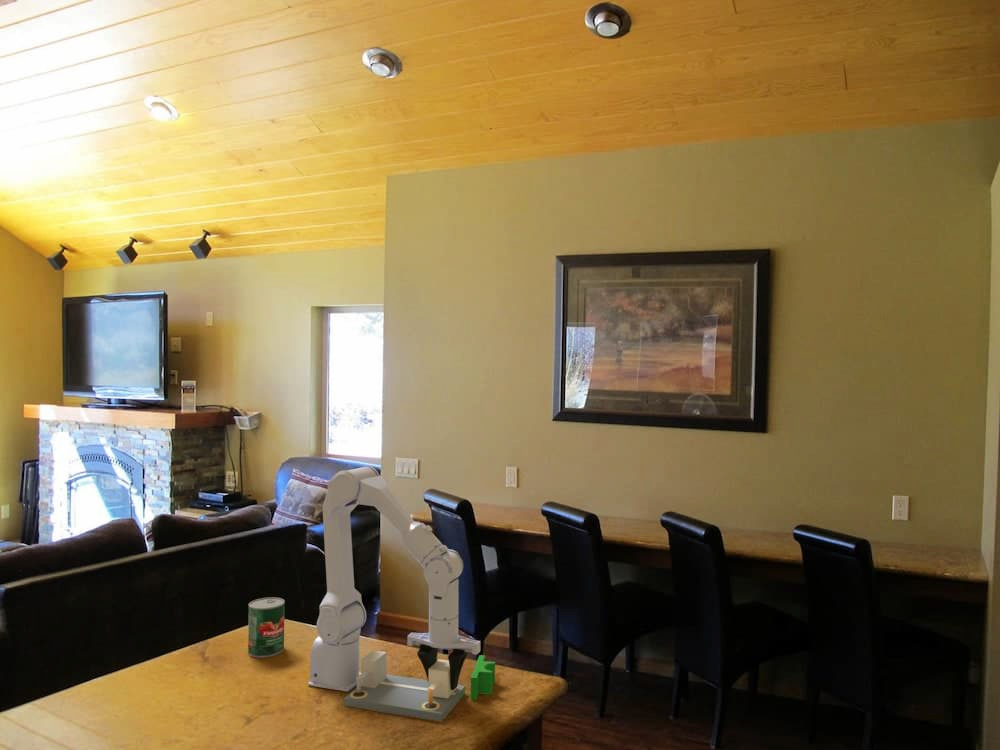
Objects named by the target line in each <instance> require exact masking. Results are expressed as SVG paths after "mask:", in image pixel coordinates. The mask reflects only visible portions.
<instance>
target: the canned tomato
mask: <svg viewBox="0 0 1000 750" xmlns="http://www.w3.org/2000/svg"><path fill="white" fill-rule="evenodd" d="M285 603H286V602H285V599H283V598H281V597H274V596H273V597H262V598H257V599H254V600H252V601H250V602H249V603H248V630H247V631H248V634H247V636H248V640H247V642H248V644H247V648H248V649H247V654H248V656H250V657H252V658H269V657H274V656H277V655H279V654H281V653H282V652H284V650H285Z"/></svg>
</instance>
